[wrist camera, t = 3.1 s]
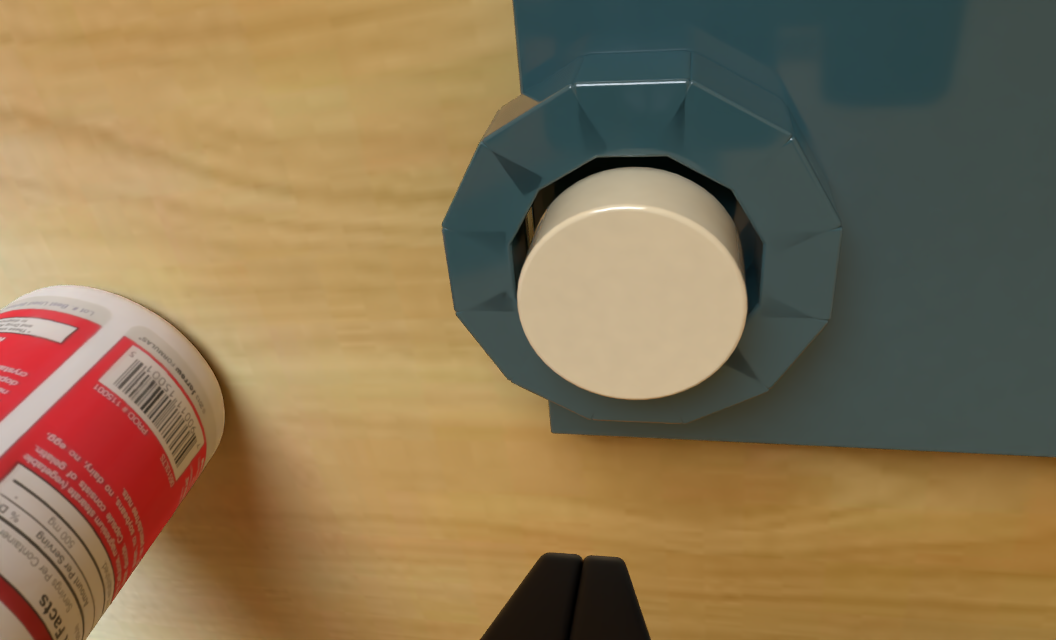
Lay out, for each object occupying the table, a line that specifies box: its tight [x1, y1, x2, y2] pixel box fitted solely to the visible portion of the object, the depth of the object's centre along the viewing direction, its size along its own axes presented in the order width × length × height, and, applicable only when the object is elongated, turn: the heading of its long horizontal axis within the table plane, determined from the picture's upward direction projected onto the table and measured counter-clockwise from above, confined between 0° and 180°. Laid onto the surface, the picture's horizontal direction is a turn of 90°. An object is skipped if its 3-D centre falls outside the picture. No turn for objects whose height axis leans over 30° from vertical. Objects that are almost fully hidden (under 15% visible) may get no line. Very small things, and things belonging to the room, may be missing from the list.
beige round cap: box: [517, 167, 748, 400], centre depth 14 cm, size 4×4×2 cm
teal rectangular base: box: [442, 0, 1056, 457], centre depth 14 cm, size 17×10×3 cm, turn 95°
